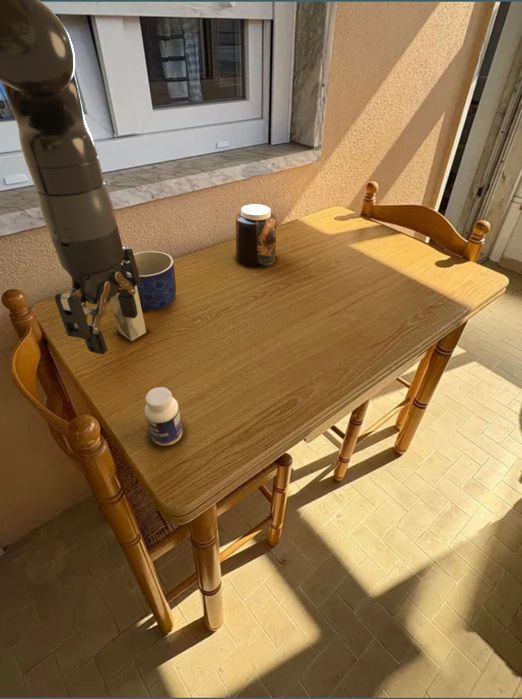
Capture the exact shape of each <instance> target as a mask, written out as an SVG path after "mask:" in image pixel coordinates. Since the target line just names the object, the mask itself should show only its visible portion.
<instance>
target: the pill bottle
mask: <svg viewBox="0 0 522 699" xmlns="http://www.w3.org/2000/svg"><path fill="white" fill-rule="evenodd" d="M145 402H146V403H145V406H144V416H145V419H146V422H147V426H148V430H149V434H150V437H151V439H152V441H153V442H154V443H155V444H156V445H159V446H170V445H173V444H175V443H177V442H178V441H179V440H180V439H181V438H182V435H183V430H184V429H183V423H182V419H181V413H180V409H179V404H178V401H177V399H176V398H175V397H173V395H172V392H171V391H170V389H168V388H167V387H165V386H159V387H154V388H151V389H150V390H149V391H148V392H147V394H146V395H145Z"/></svg>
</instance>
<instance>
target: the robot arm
mask: <svg viewBox="0 0 522 699" xmlns="http://www.w3.org/2000/svg"><path fill="white" fill-rule="evenodd" d="M75 65H76V58H75V51H74V46H73V43H72V41H71V38H70V35H69V33H68V31H67V29H66V28H65V26H64V24H63V23H62V21H61V20H60V18H59V17H58V16H57V14H55V12H53V10H52V9H50V7H48V5H46V3H45V4H44V3H43V2H42V1H41V0H0V82H1V84H2V87H3V89H4V92H5V95H6V98H7V100H8V103H9V106H10V108H11V111H12V114H13V116H14V119H15V122H16V125H17V129H18V137H19V144H20V148H21V152H22V154H23V158H24V161H25V164H26V167H27V169H28V172H29V174H30V177H31V179H32V182H33V185H34V188H35V191H36V195H37V199H38V203H39V208H40V212H41V216H42V218H43V220H44V223H45V225H46V228H47V231H48V233H49V236H50V239H51V242H52V245H53V247H54V250H55V253H56V255H57V258H58V260H59V264H60V266H61V267H62V268H63V270H64V271H66V272H67V274H69V276H70V277H71V289H70V290H68V291H67V292H65V293H62V292H57V293H56V294H55V296H54V302H55V304H56V306H57V310H58V313H59V316H60V318H61V321H62V324H63V326H64V329H65V333H66V335H67V336H68V337H71V338H72V337H73V338H78V339H83V340H84V342H85V344H86V347H87V350H88V351H89V352H90V353H94V354H99V355H105V354H106V352H107V351H108V347H107V344H106V341H105V338H104V335H103V332H102V330H101V322H102V317H104V316H105V315H106V311H107V304H108V303H109V302H111V301H110V299H111V298H112V297H113V296H115V295H116V294H117V293H120V294H119V295H118V300H119V304H120V307H121V311H122V314H123V316H125V317H129V318H135V317H136V316H137V315H138V313H137V307H136V302H135V298H134V294H135V286H136V285H139V284H140V277H139V273H138V269H137V266H136V262H135V258H134V254H135V253H134V251H133V249H132V248H131V247H123V242H122V239H121V235H120V231H119V227H118V223H117V219H116V214H115V210H114V205H113V202H112V199H111V196H110V194H109V191H108V189H107V187H106V183H105V179H104V175H103V170H102V167H101V163H100V159H99V155H98V151H97V148H96V145H95V141H94V139H93V136H92V133H91V132H90V130H89V127H88V125H87V122H86V118H85V114H84V111H83V110H84V109H83V104H82V101H81V96H80V92H79V87H78V83H77V78H76V74H75V67H76V66H75ZM127 272H130V273H131V276H128V274H127ZM87 303H89V304H91V305H96V307H95V308H89V307H88V306H87ZM89 315H90V316H91V323H88V316H89Z"/></svg>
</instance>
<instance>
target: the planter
mask: <svg viewBox="0 0 522 699" xmlns="http://www.w3.org/2000/svg"><path fill="white" fill-rule="evenodd" d="M133 254H134V258H135V262H136V266H137V269H138V273H139V277H140V284H139V285H136V286H137V290H138V295H139V300H140V305H141V309H142V311H147V312H149V311H150V312H151V311H152V312H153V311H159V310H163V309H165V308H167V307H169V306H170V305H172V303H173V302H174V301H175V299H176V296H177V282H176V281H177V280H176V272H175V271H176V270H175V264H174V259H173V257H172V256H171V255H169V254H168V253H166V252H161V251H153V250H152V251H151V250H149V251H140V252H135V253H133ZM127 274H128V276H131V273H130V272H127Z"/></svg>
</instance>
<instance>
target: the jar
mask: <svg viewBox="0 0 522 699" xmlns="http://www.w3.org/2000/svg"><path fill="white" fill-rule="evenodd" d="M276 248H277V218H276V215H274V214H273V213H272V209H271V207H269V206H267V205H265V204H259V203H251V204H246V205H243V206H241V208H240V212H238V213H237V214H236V216H235V253H236V254H235V255H236V261H237V262H238V263H239V264H241V265H242V266H245V267H248V268H257V269H258V268H259V269H260V268H265V267H269V266H271V265H273V264H274V263H275V261H276Z"/></svg>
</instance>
